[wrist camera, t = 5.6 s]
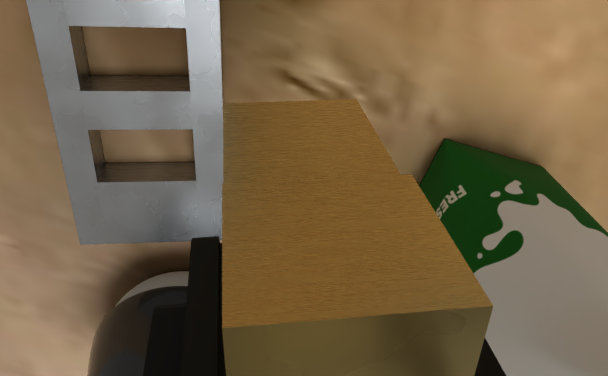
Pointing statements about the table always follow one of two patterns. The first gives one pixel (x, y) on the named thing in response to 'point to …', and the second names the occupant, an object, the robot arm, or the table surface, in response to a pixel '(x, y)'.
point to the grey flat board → (135, 121)
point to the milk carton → (527, 260)
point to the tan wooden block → (336, 253)
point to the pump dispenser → (133, 325)
